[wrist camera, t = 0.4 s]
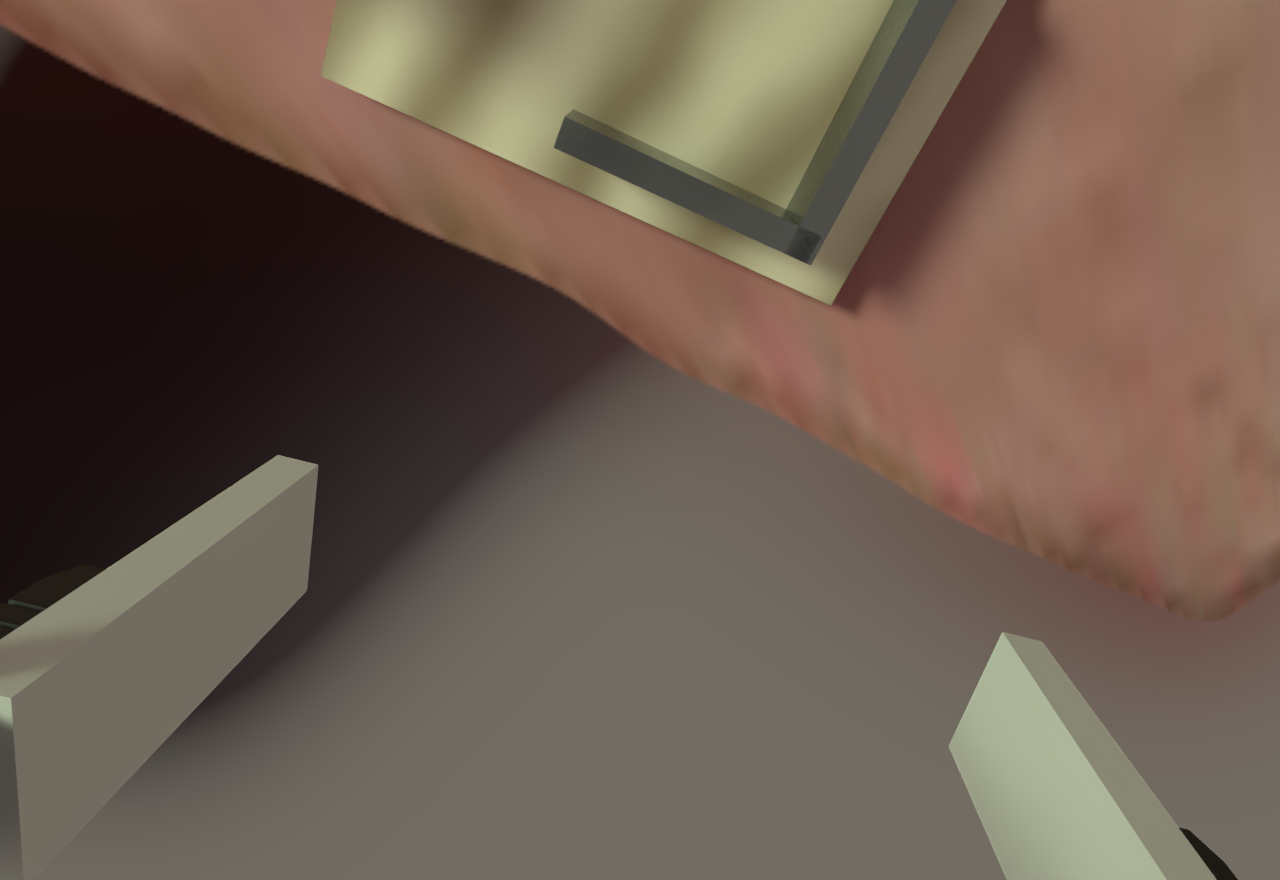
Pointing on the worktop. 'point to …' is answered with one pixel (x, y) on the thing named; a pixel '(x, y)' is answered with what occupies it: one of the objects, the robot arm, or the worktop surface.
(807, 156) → the board
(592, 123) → the bracket
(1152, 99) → the worktop surface
